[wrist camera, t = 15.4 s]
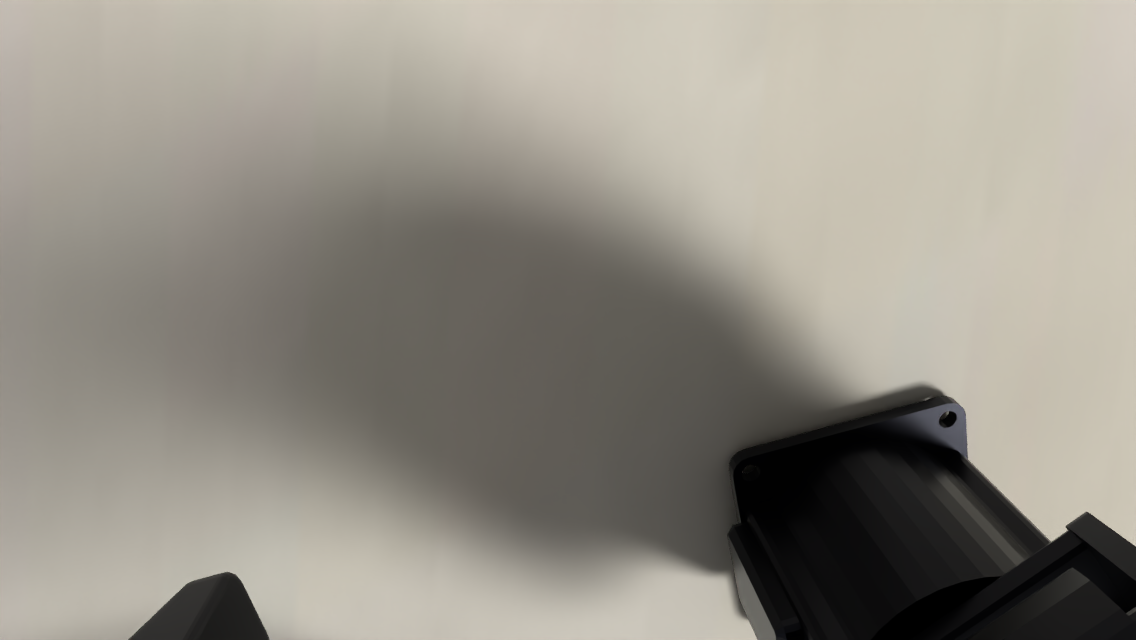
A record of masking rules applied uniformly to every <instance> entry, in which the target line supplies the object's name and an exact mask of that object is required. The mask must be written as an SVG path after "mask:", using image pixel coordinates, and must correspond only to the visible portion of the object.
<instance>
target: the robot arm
mask: <svg viewBox="0 0 1136 640" xmlns="http://www.w3.org/2000/svg"><path fill="white" fill-rule="evenodd" d="M947 411H949V414H948V415H947V416H946V418H944V419H942V420H939V418H940V417H941V415H942V414H943V413H945V412H947ZM749 465H755V467H754V469H753V470H752V471H750V472H748V473H742V471H743V470H744V468H745V467H747V466H749ZM729 474H730V480H731V485H732V491H733V496H734V502H735V507H736V513H737V518H738V524H735V525H732V527H731V529H730V530H729V532H728V534H727V536H728V541H729V547H730V552H731V557H732V562H733V568H734V573H735V578H736V584H737V589H738V594H739V599H740V602H741V604H742V606H743V608H744V611H745V613H746V615H747V617H748V619H749V622H750V624H751V626H752V628H753V630H754V633H755V635H756V637H757V639H758V640H1136V546H1134V545H1133V544H1131V543H1130V542H1129V541H1127V540H1126V539H1124V538H1123V537H1122V536H1120V535H1119V534H1118V533H1116V532H1115V531H1113V530H1112V529H1111V528H1109V527H1108V526H1106V525H1105V524H1104V523H1102V522H1101V521H1099V520H1098V519H1097V518H1095V517H1094V516H1093V515H1091V514H1090V513H1088V512H1085V513H1084V514H1082V515H1081V516H1079V517H1078V518H1077V519H1075V520H1074V521H1072V522H1071V523H1069V524H1068V525H1066V528H1067V530H1068V531H1066V532H1065V533H1064V534H1062V535H1061V536H1059V537H1058V538H1056V539H1055V540H1053V541H1052V542H1051V541H1050V540H1049V539H1048V538H1047V537H1046V536H1045V535H1044V534H1043V533H1042V532H1041V531H1040V530H1039V529H1038V528H1037V527H1036V526H1035V525H1034V524H1033V523H1032V522H1031V521H1030V520H1029V519H1028V518H1027V517H1026V516H1024V515H1023V514H1022V513H1021V512H1020V511H1019V510H1018V509H1017V508H1016V507H1015V506H1014V505H1013V504H1012V503H1011V502H1010V501H1009V500H1008V499H1007V498H1006V497H1005V496H1004V495H1003V494H1002V493H1001V492H1000V491H999V490H998V489H997V488H996V487H995V486H994V485H993V484H992V483H991V482H990V481H989V480H988V479H987V478H986V477H985V476H984V475H983V474H982V473H981V472H980V471H979V470H978V469H977V468H976V467H975V466H974V465H973V464H972V463H971V462H970V461H969V460H968V455H967V433H966V414H965V411H964V409H963V408H962V407H961V406H960V405H959V404H958V403H957V402H956V401H955V400H954V399H953V398H951V397H947V396H942V397H937V398H933V399H929V400H926V401H922V402H918V403H914V404H911V405H907V406H903V407H900V408H896V409H892V410H889V411H885V412H881V413H877V414H874V415H870V416H866V417H863V418H859V419H855V420H852V421H848V422H844V423H840V424H837V425H833V426H829V427H826V428H822V429H818V430H815V431H811V432H807V433H804V434H800V435H796V436H792V437H789V438H785V439H781V440H778V441H774V442H770V443H767V444H763V445H759V446H755V447H752V448H748V449H744V450H742V451H740V452H738V453H736V454H735V455H734V456H733V457H732V458H731V460H730V462H729ZM129 640H269V637H268V635H267V632H266V630H265V628H264V626H263V624H262V622H261V620H260V618H259V616H258V614H257V612H256V610H255V608H254V606H253V604H252V602H251V600H250V598H249V595H248V593H247V591H246V589H245V587H244V585H243V583H242V582H241V580H240V579H239V578H238V577H237V576H236V575H235V574H233V573H230V572H224V573H220V574H217V575H213V576H209V577H206V578H202V579H198V580H194V581H192V582H190V583H188V584H186V585H185V586H184V587H183V588H182V589H181V590H180V591H179V592H178V593H177V594H176V595H175V596H174V597H172V598H171V599H170V600H169V601H168V602H167V603H166V604H165V605H164V606H163V607H162V608H161V609H160V610H159V611H158V612H157V613H156V614H155V615H154V616H153V617H152V618H151V619H150V620H149V621H147V622H146V623H145V624H144V625H143V626H142V627H141V628H140V629H139V630H138V631H137V632H136V633H135V634H134V635H133V636H132V637H131V638H130V639H129Z"/></svg>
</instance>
